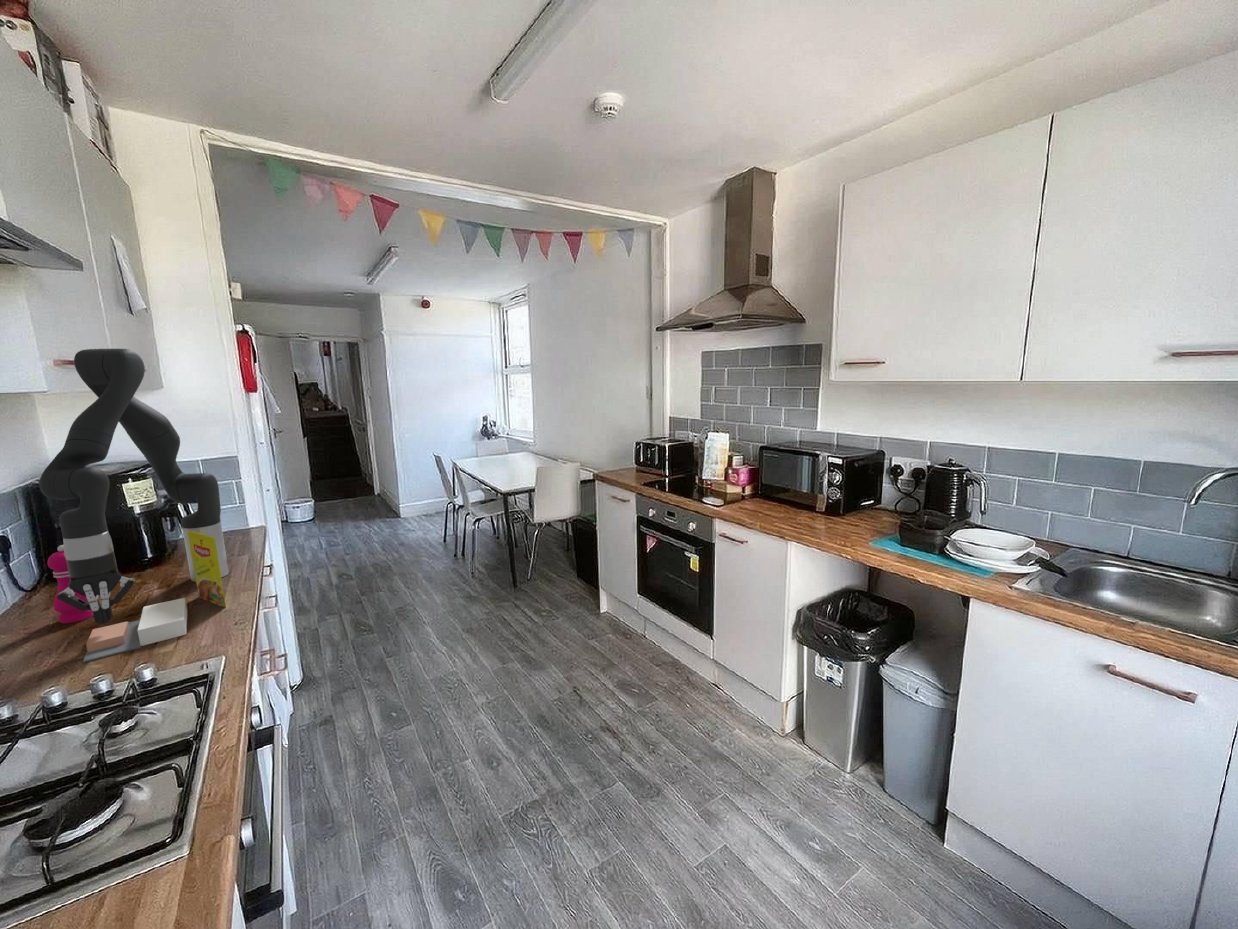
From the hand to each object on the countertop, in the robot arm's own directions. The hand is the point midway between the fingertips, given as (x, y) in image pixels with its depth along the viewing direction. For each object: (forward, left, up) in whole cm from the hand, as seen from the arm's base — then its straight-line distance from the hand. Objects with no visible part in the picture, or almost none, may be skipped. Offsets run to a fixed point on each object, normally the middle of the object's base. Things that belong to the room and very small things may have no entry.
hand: (104, 623), depth 115 cm
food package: (-11, +19, -5) cm, 23 cm away
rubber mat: (0, +2, -5) cm, 5 cm away
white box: (0, +10, -5) cm, 11 cm away
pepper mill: (-23, -8, -5) cm, 25 cm away
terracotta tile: (0, 0, -2) cm, 2 cm away
